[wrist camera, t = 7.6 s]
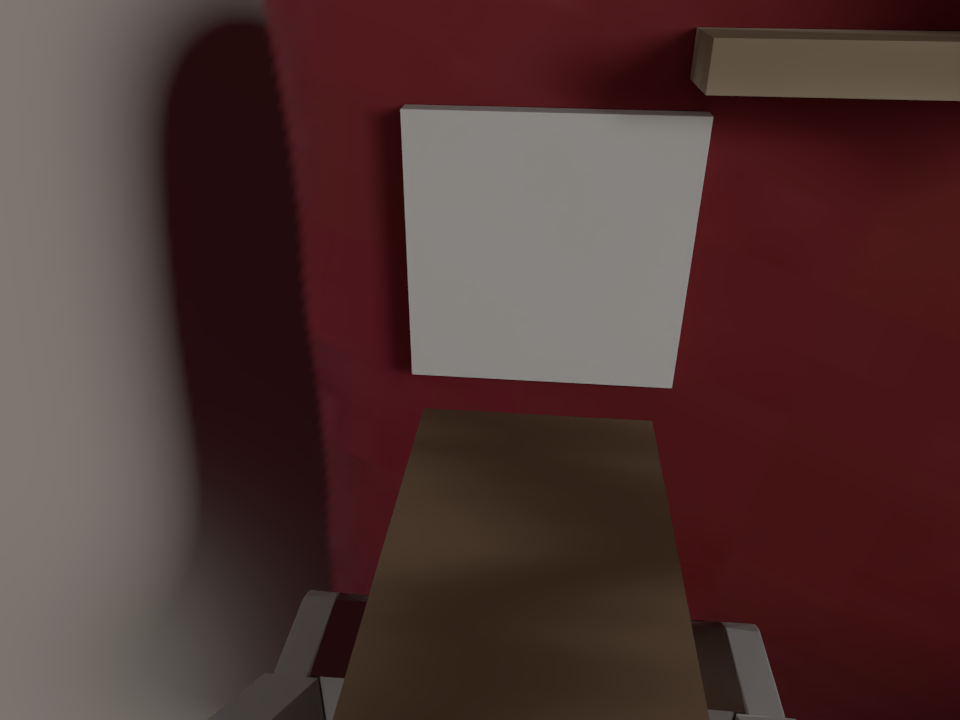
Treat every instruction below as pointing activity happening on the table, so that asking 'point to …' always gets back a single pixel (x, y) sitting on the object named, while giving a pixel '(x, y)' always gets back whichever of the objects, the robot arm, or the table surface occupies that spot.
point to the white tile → (550, 240)
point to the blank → (527, 579)
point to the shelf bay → (827, 63)
